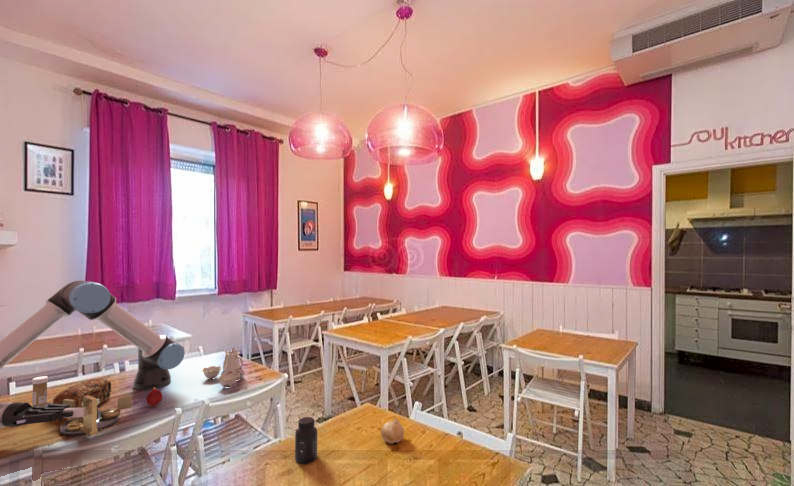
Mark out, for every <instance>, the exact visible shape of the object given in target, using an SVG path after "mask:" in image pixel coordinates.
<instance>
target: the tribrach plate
mask: <svg viewBox="0 0 794 486" xmlns="http://www.w3.org/2000/svg"><path fill="white" fill-rule="evenodd" d="M132 396H133V395H132V394H128V395H123V396H117V407H111V408H107V409H104V410H99V405H100V404H99V403H100V399H97V429H98V430H100V431H102V430H101V429H103V430H105V429H107V427H108V428H110V427H111V426H113V425H115V424H116V423H117V422H118V421H119V419H120V416H121V411H122V410H126V409H132V405H133V404H132V403H133V401H132V400H133V397H132ZM98 404H99V405H98ZM63 405H70V408H75V400H72V399H64V400H63ZM82 407H83V402H82ZM66 419H67V420H65V421H64V422H63V423H62V424H60V427H59V433H60V434H61V435H63V436H68V437H71V436H72V437H73V436H75V435H77V436H82V435H81V434H84V435H86V434H85V433H83V432H81V431H79V430H78V431H68V424H69V423H70V422H72V421H75V420H78V419H83V417H72V418H66ZM104 428H105V429H104Z"/></svg>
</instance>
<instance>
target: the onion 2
mask: <svg viewBox="0 0 794 486" xmlns="http://www.w3.org/2000/svg"><path fill="white" fill-rule="evenodd" d="M380 434H381V438H382V439H383V440H384V442H386V443H387V444H390V445H394V443H397V444H398V443H400V442H401V441H402V440H403V438H404V436H405V428H404V427H403V424H401V423H400V422H399V420H398V419H396V418H394V420H393V421H392V420H391V421H387V422H385V423H384V424H383V425H382V427H381V430H380Z"/></svg>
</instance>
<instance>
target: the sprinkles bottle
mask: <svg viewBox="0 0 794 486" xmlns="http://www.w3.org/2000/svg"><path fill="white" fill-rule="evenodd" d="M48 381H49V377H48V376H47V375H44V376H43V375H42V376H37V377H33V378H32V381H31V384H32V393H31V396H32V398H31V399H32V401H31V403H32V405H31V406H32V407H33V406H46V404H47V403H48Z"/></svg>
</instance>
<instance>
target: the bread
mask: <svg viewBox="0 0 794 486" xmlns="http://www.w3.org/2000/svg"><path fill="white" fill-rule="evenodd" d="M111 393H112V382H111V381H110V380H109V379H103V378H92V379H89V380H85V381H80V382H78V383H76V384H74V385H73V386H70V387H69V388H66V389H64V390H63V391H60V392H59V393H58V394H56V395H55V396H54V397H53V399H52V400H53V401H52V404H63V400H64V399H72V400H75V408H82V402H83V396H86V395H89V396H92V397H94V398H96V399H100V403H99V404H98V406H99V405H100V404H102V403H103V402H105V401H107V400H109V399H110V397H111Z"/></svg>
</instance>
